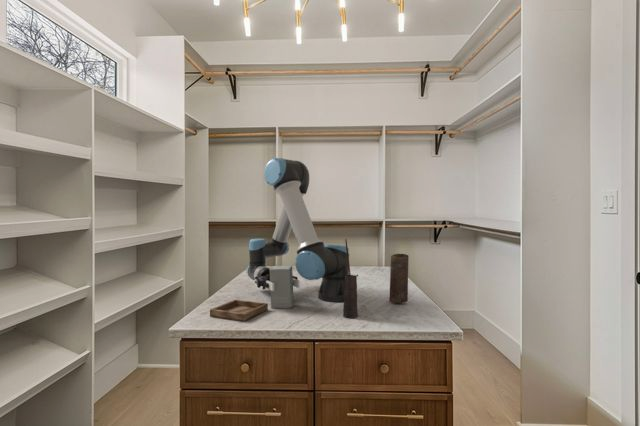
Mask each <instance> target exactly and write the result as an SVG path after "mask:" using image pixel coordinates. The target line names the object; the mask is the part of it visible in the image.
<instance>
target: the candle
mask: <svg viewBox="0 0 640 426" xmlns="http://www.w3.org/2000/svg"><path fill="white" fill-rule="evenodd" d="M409 258H410V257H409V255H408V254H407V253H395V254H392V255H390V273H389V274H390V278H389V295H388V296H389V298H388V299H389V303H393V304H396V305H400V304H403V303H407V302H408V300H409V297H408V295H409Z"/></svg>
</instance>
